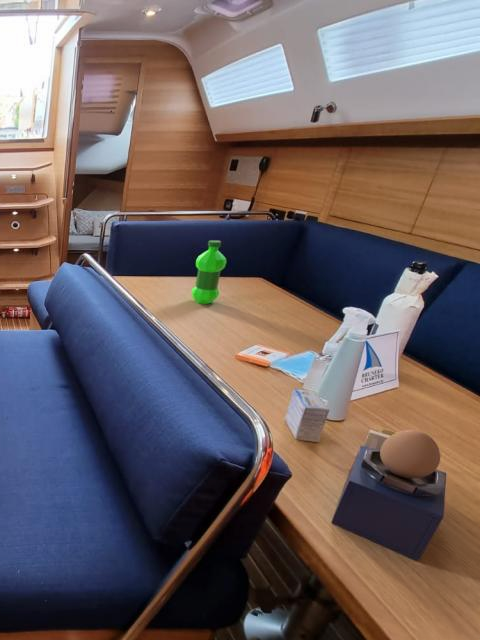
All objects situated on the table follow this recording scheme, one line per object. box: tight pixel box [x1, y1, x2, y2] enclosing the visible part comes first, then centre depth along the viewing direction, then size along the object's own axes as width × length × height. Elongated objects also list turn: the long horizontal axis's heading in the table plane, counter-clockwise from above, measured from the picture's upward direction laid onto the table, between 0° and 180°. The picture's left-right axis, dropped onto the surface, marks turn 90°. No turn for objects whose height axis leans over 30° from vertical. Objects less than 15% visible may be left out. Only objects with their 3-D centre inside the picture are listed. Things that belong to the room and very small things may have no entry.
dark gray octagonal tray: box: [361, 448, 445, 498], centre depth 68 cm, size 9×9×2 cm
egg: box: [380, 429, 441, 478], centre depth 66 cm, size 6×6×8 cm
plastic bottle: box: [191, 239, 228, 305], centre depth 167 cm, size 10×10×25 cm
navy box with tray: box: [330, 444, 447, 562], centre depth 70 cm, size 13×11×10 cm
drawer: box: [363, 427, 442, 456], centre depth 77 cm, size 17×9×8 cm, turn 133°
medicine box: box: [284, 389, 330, 443], centre depth 93 cm, size 8×4×9 cm, turn 160°
